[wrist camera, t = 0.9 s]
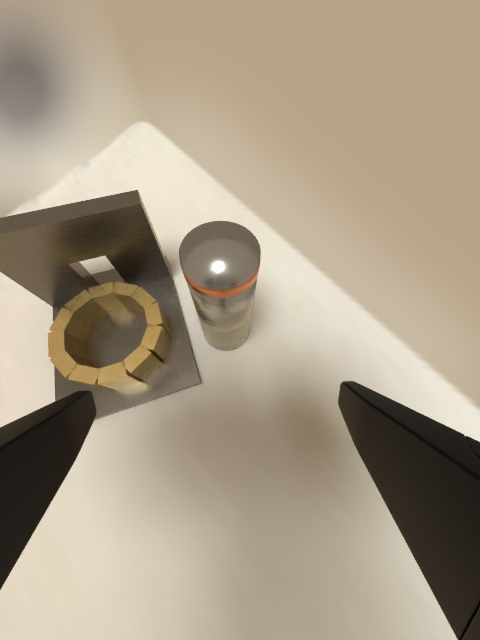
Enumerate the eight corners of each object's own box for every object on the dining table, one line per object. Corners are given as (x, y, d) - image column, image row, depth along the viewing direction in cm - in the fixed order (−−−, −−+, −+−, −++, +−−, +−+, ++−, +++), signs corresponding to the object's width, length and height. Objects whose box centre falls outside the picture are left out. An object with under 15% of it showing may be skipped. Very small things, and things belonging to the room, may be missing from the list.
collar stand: (201, 383, 22) (178, 352, 13) (61, 431, 20) (-77, 433, 11) (166, 259, 27) (135, 180, 19) (56, 287, 25) (-37, 214, 17)
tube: (248, 352, 23) (260, 287, 12) (200, 349, 23) (171, 283, 12) (250, 309, 25) (261, 222, 14) (205, 307, 25) (184, 218, 14)
